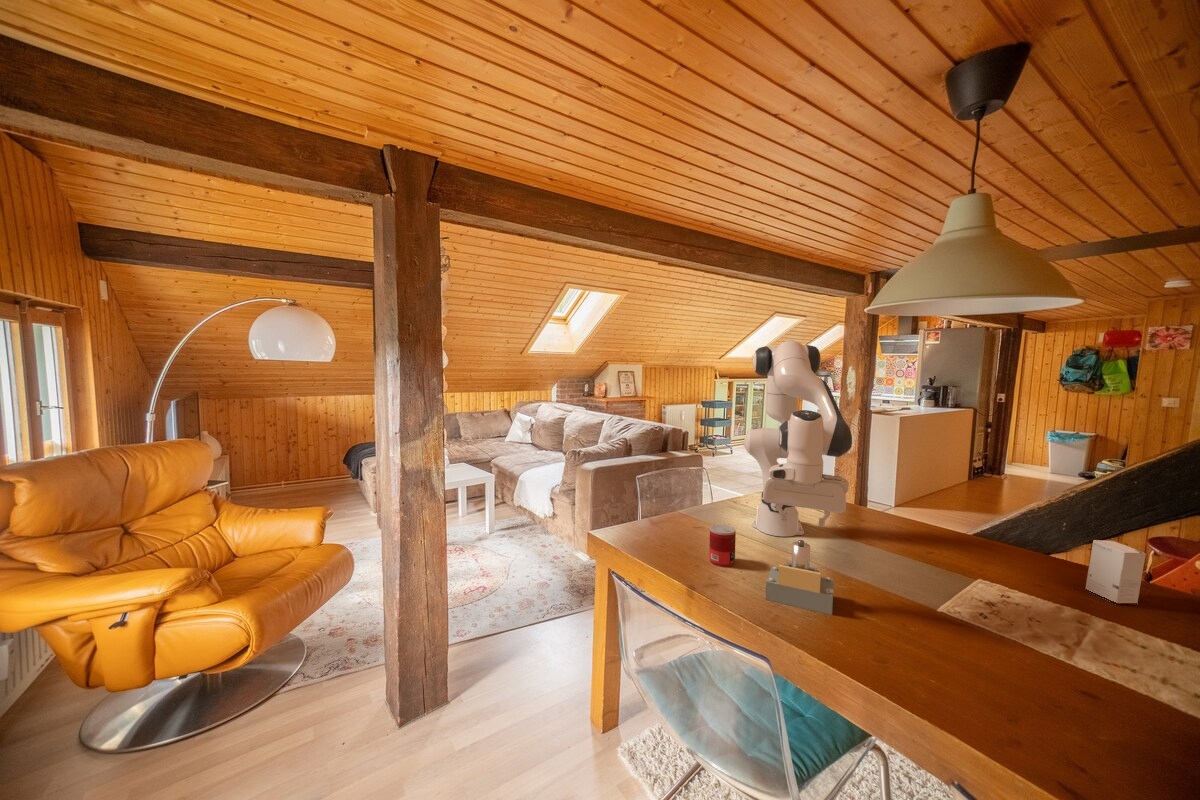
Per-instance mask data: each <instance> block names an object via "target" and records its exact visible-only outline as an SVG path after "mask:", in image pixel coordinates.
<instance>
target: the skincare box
mask: <svg viewBox="0 0 1200 800" xmlns="http://www.w3.org/2000/svg"><path fill="white" fill-rule="evenodd" d="M1091 546H1092V547H1091V553H1090V559H1089V564H1088V569H1087V570H1088V571H1087V575H1086V576H1087V577H1086V583H1085V590H1086V589H1087V590H1089V591H1091V592H1093V593H1096V594H1098V595H1100V596H1102V597H1105V598H1107V599H1109V600H1111V601H1114V602H1116V603H1137V604H1138V602H1139V596H1140V590H1141V583H1142V578H1143V573H1144V572H1143V571H1144V567H1145V560H1146V556H1147V553H1145V552H1143V551H1141V550H1138V549H1136V548H1133V547H1130V546H1128V545H1125V544H1122V543H1120V542H1118V541H1114V540H1104V539H1103V540H1101V539H1100V540H1098V539H1094V540H1093V541H1092V545H1091ZM1091 592H1090V593H1091ZM1093 593H1092V594H1093Z"/></svg>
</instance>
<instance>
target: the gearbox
mask: <svg viewBox="0 0 1200 800" xmlns="http://www.w3.org/2000/svg"><path fill="white" fill-rule="evenodd" d="M765 582H766V583H765V588H766V589H765V600H766V601H770V602H773V603H779V604H783V605H787V606H792V607H796V608H801V609H806V610H810V611H814V612H817V613H821V614H827V615H831V616H833V604H834V603H833V601H834V583H835V582H834V579H833V578H831V577H828V576H827V577H824V576H821V572H820V570H819V569H818V568H817V567H812V566H810V569H809V570H804V569H799V568H794V567H792V562H786V563H784V564H783V565H782V564H778V567H777V566H771V567H770V570H769V573H768V576H767V579H766V581H765Z"/></svg>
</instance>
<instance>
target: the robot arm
mask: <svg viewBox="0 0 1200 800" xmlns="http://www.w3.org/2000/svg"><path fill="white" fill-rule="evenodd" d="M821 363H822V356H821V353H820V350H819V349H818V347H816V346H814V345H810V344H809V345H808V344H806V345H803V344H802V343H801V342H799V341H796V340H786V341H784V342H782V343H780V344H778V345H773V346H772V345H771V346H768V345H767V346H761V347H758V348H757V349H756V350H755V352H754V354H753V357H752V367H753V369H754V372H755V373H756V374H757V375H758V376H761V377H767V380H766V388H765V390H766V391H765V413H766V414H767V416H768V417H769V418H770V419H773V420H775V421H778V422H779V423H780V424H781V425H779V426H778V428H770V427H769V428H768V427H767V428H766V427H760V428H753V429H749V430H748V431H747V433H745V436H744V439H743V445H744V448H745V450H746V452H747V453H748V454H749V455H750V456H752V457H753V458H754V459H755V460H756V462H757V463H758V465H759V467H760V469H761V473H762V491H761V495H760V496H761V497H760V499H761V500H760V501H761V503H760V504H758V505H757V506H756V519H755V521H753V522H751V525H750V526H751V527H752V528H754V529H756V530H758V531H760V532H762V533H763V534H766V535H770V536H776V537H787V538H788V537H794V536H803V535H805V531H804V528H803V526H802V523H801V521H800V519H799V518H800V517H799V511H798V508H803V509H811V510H818V511H824V512H823V515H824V516H823V517H819V518H818V526H819V527H825V528H826V521H827V519H828V518H829V517H830V516H831V513H833V512H834V513H839V514H843V513H844V512H846V510H847V498H846V494H848V491H849V486H850V485H849V481H848V480H847V479H846V478H844V477H843V476H841V475H832V474H825V473H824V459H823V456H828V457H835V458H836V457H837V458H839V457H842V456H843V455H845V454H846V453H848V452H849V451H850V450H851V448H852V445H853V436H852V431H851V429H850V426H849V425H848V423H847V421H846V420H845V419H844V418H843V417H844V416H842V413H841V410H840V409H839V406H838V403H837V402H836V400H835V397H834V394H833V393H832V391H831V389H830V387H829V384H828V382H826V381H825V380H824V379H823V378H821V377H818V375H817V374H816V373H818V372H819V369H820V367H821V365H822V364H821ZM799 399H801V400H804V401H807V402H810V403H811V404H814V405H815V406H816V407H817V408H818V410H819V412H820V413H819V412H817V411H812V410H808V409H807V410H806V409H803V410H802V409H801V410H800V409H799V401H798V400H799ZM778 459H786V462H785V463H779V462H778Z"/></svg>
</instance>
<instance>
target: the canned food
mask: <svg viewBox="0 0 1200 800" xmlns="http://www.w3.org/2000/svg"><path fill="white" fill-rule="evenodd" d="M736 535H737V532H736V529H735V528H734V527H733V526H730V525H727V524H726V525H725V524H714V525H711V526H710V527H709V548H708V549H709V551H708V552H709V553H708V554H709V558H708V559H709V562H710V563H711V564H712V565H713V566H717V567H723V568H724V567H725V568H727V567H732V566H734V564H735V561H736V538H737V537H736Z"/></svg>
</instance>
